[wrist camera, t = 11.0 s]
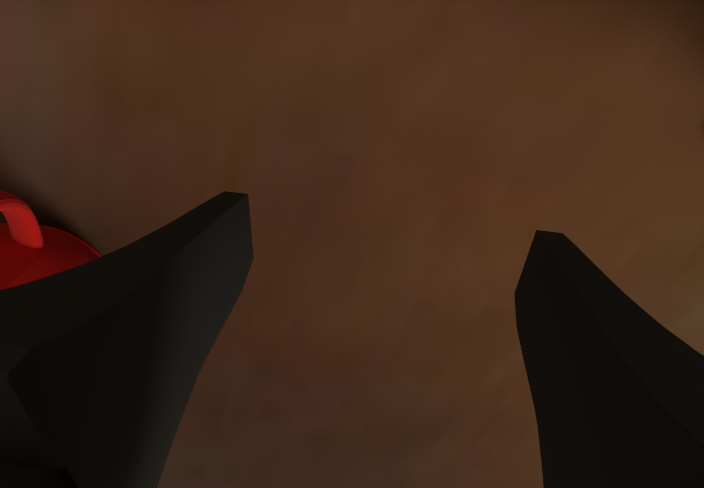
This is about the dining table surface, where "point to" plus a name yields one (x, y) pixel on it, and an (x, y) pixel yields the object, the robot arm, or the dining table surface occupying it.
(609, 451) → the robot arm
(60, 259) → the ceramic cup
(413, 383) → the dining table surface
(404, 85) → the dining table surface
